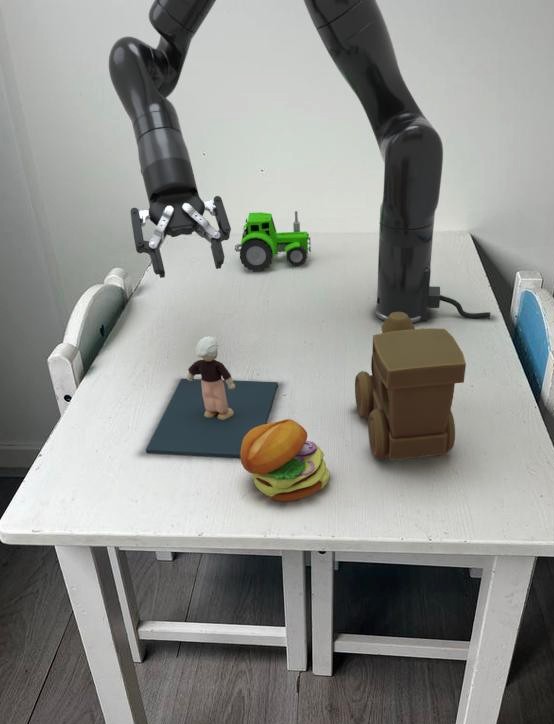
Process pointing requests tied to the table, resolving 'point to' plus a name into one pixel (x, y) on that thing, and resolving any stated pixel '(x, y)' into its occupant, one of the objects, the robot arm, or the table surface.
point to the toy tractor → (271, 242)
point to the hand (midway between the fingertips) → (191, 271)
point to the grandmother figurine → (212, 379)
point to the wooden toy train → (410, 390)
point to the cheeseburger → (283, 461)
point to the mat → (211, 420)
